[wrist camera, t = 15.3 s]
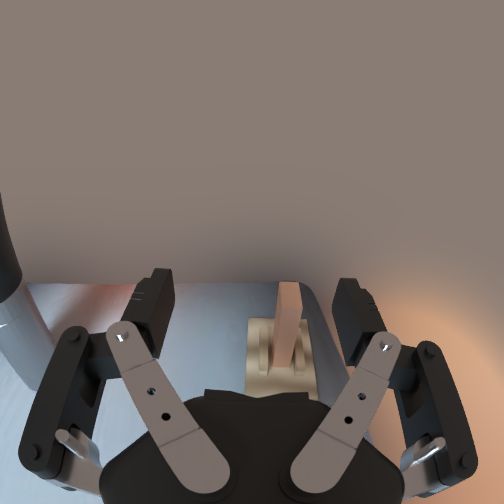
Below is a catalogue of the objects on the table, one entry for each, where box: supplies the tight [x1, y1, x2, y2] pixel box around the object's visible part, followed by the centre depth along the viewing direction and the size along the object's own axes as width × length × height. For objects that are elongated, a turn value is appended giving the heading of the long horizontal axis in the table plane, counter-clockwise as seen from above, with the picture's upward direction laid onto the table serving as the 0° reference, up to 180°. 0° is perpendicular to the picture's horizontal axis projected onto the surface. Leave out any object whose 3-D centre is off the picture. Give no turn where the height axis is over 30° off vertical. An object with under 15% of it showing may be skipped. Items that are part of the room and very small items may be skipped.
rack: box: [245, 318, 318, 401], centre depth 41 cm, size 16×10×3 cm, turn 178°
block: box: [272, 282, 303, 367], centre depth 39 cm, size 5×2×12 cm, turn 179°
